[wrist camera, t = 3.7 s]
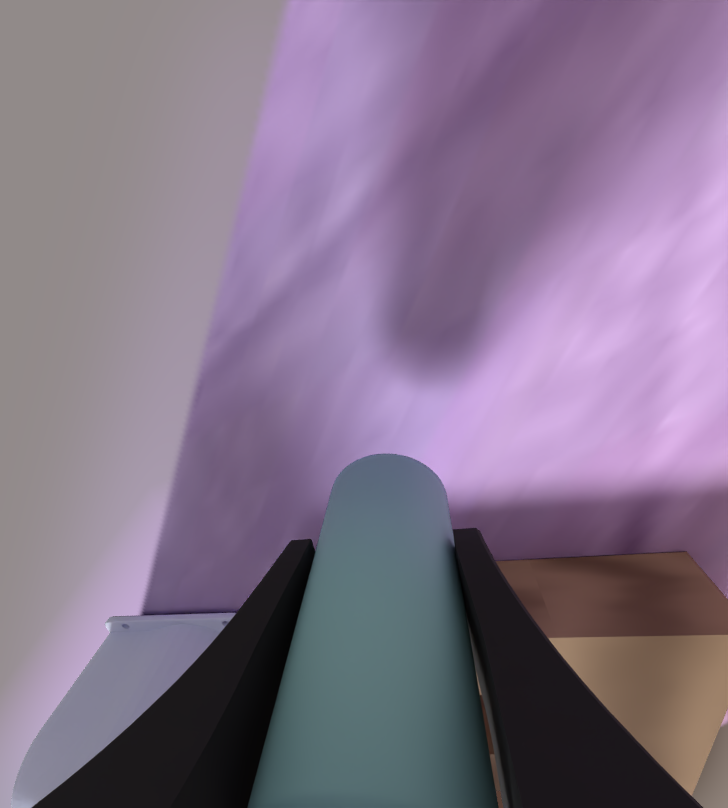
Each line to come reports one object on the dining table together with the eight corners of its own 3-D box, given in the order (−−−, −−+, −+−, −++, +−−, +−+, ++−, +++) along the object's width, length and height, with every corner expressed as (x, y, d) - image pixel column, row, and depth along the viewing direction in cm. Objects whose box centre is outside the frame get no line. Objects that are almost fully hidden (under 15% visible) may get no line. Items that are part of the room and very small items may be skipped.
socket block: (341, 708, 27) (331, 782, 23) (291, 571, 21) (268, 642, 17) (646, 712, 24) (690, 799, 20) (686, 551, 18) (758, 634, 14)
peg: (343, 548, 14) (281, 890, 7) (319, 460, 12) (204, 787, 5) (451, 541, 13) (510, 910, 6) (441, 447, 12) (504, 800, 5)
